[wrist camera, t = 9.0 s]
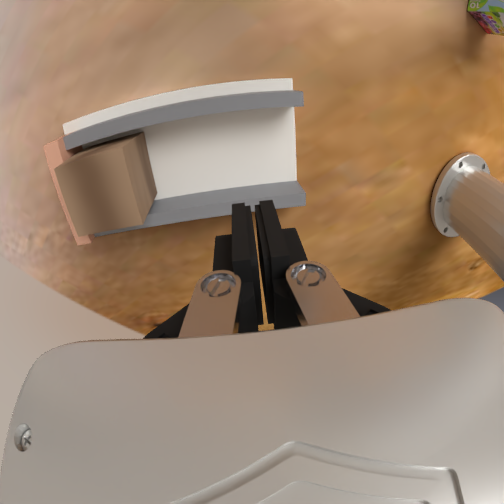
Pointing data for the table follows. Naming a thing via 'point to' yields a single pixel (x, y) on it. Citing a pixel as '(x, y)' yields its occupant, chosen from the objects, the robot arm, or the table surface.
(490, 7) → the snack box
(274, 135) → the chute
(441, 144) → the table surface
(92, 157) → the walnut block
